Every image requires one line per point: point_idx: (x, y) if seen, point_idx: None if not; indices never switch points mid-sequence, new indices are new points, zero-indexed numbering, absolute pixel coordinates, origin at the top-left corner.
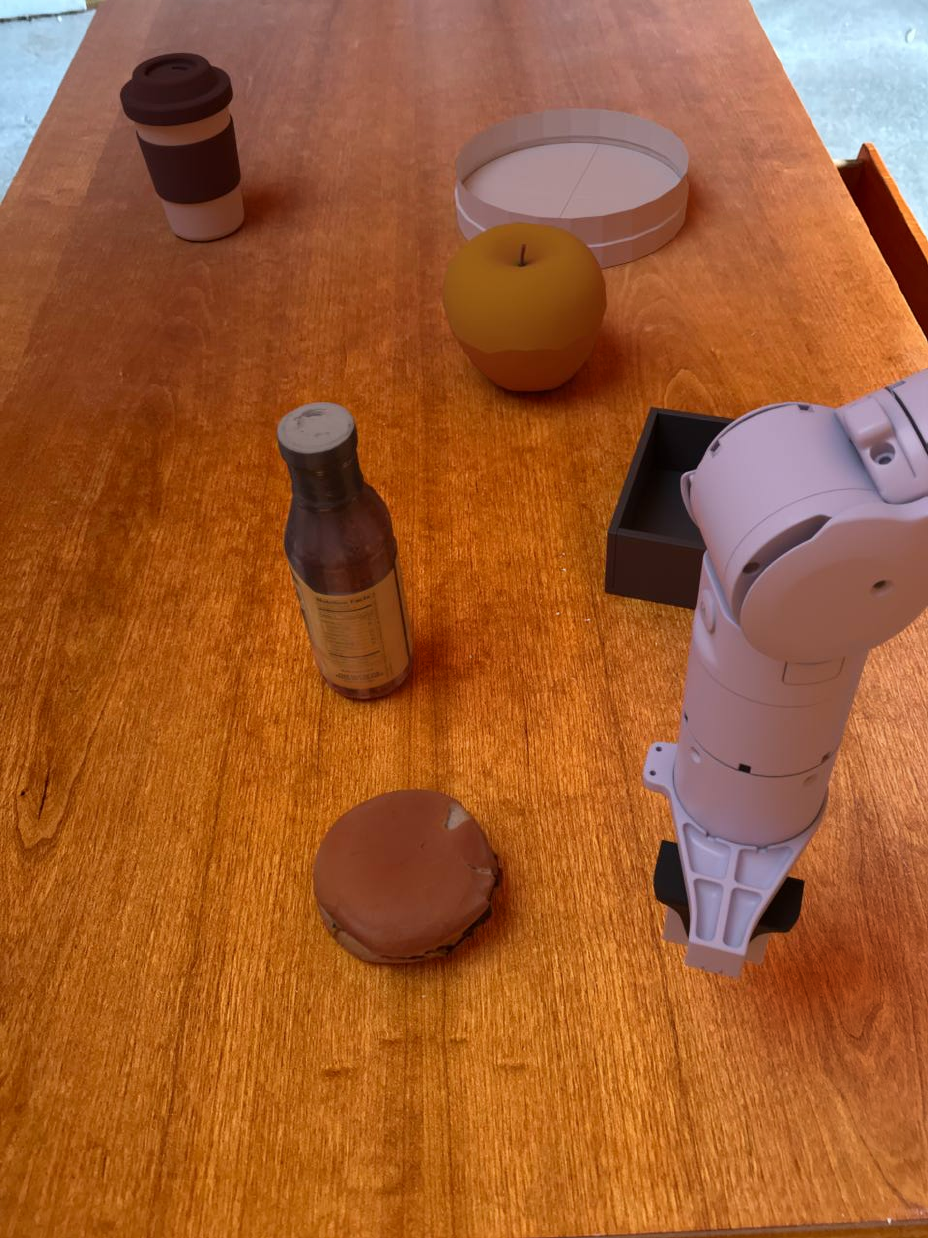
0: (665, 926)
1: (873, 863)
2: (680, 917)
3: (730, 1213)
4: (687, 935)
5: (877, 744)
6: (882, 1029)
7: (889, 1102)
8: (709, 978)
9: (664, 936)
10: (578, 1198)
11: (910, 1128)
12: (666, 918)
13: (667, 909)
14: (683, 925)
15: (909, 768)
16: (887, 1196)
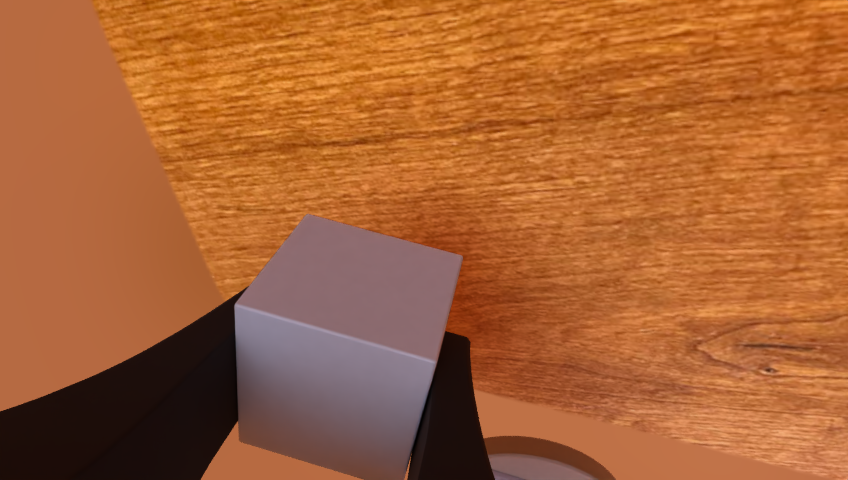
0: (283, 243)
1: (590, 382)
2: (156, 344)
3: (177, 183)
4: (238, 293)
5: (777, 428)
6: None
7: None
8: (429, 191)
9: (300, 222)
10: (126, 14)
11: None
12: (270, 260)
13: (252, 282)
14: (206, 314)
15: (726, 445)
16: None
